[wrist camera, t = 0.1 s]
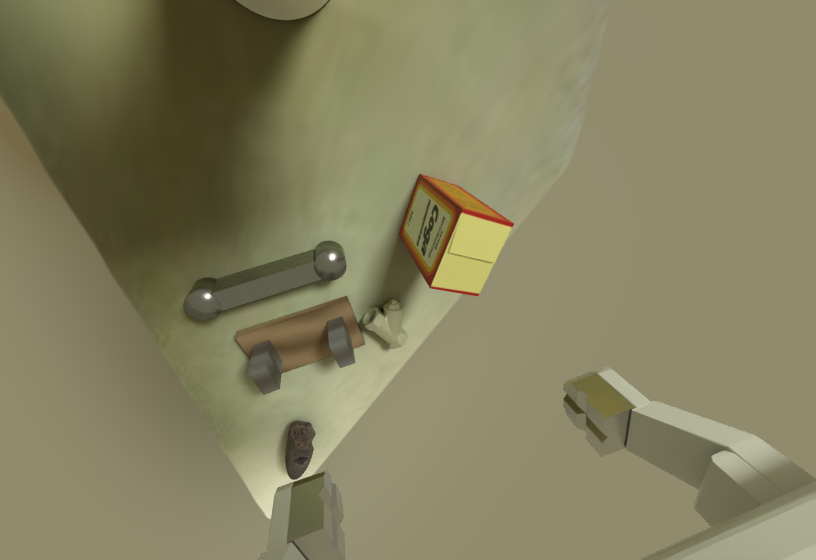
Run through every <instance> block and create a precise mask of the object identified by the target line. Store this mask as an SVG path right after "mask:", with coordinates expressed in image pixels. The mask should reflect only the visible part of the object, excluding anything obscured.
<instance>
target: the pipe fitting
mask: <svg viewBox="0 0 816 560" xmlns="http://www.w3.org/2000/svg"><path fill="white" fill-rule="evenodd" d="M402 314H403V305H402V304H400V303H399V302H398V301H397V300H396V299H392V300H391V301H389V302H387V303H385V304H384V311H383V313H382V311H381V310H380V309H378V308H377V307H375V308H372V309H370V310H369V311H367V313H366V314H365V315H364V317H363V320H362V322H363V325H364V327H365V328H367V329H368V330H369V331H371V330H372V331H373V332H375V333H376V334H377V335H379V336H380V337H381V338H383V339H384V340H385V341H387V343H388V344H389V346H391V347H392V348H393V349H396V348H399V347H401V346H403V345H404V343H405V342H406V339H407V337H408V336H407V334H406V332H405V330H404V329H402V328H401V324H402Z"/></svg>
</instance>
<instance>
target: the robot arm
mask: <svg viewBox="0 0 816 560" xmlns="http://www.w3.org/2000/svg"><path fill="white" fill-rule="evenodd" d="M236 1H237V2H239V3H240V4H241V5H243V6H244V7H246V8H248V9H249V10H251V11H253V12H255V13H257V14H260V15H262V16H265V17H268V18H272V19H277V20H295V19H300V18H304V17H306V16H309V15H311V14H313V13H314V12H316V11H317V10H319V9H320V8H321V7H322V6H323V5H325V4H326V2H327V1H328V0H236ZM563 390H564V391H565V392H566V393H567V394H566V396H565V397H564V399H563V401H564V408H565V411H566V413H567V415H568V417H569V419H570V420H571V421H572V423H573V424H574V425H575V426H576V427H578V428H580V429H582V430H584V431H585V436H586V439H587V441H588V442H589V443H590V444H591V445H592V446H593V448H594V449H595V450H596V451H597V452H598V454H599V455H600V456H601V457H602V456H604V455H607V454H610V453H613V452H615V451H618V450H621V449H623V448H626V450H628V451H630V452H631V453H633V454H635V455H637V456H639V457H640V458H643V459H644V460H646V461H648V462H650V463H651V464H653V465H655V466H657V467H659V468H661V469H662V470H664V471H666V472H668V473H669V474H671V475H673V476H675V477H677V478H679V479H680V480H682V481H684V482H686V483H688V484H689V485H691V486H693V487H695V488H697V489H699V492H698V494H697V497H696V500H695V503H694V505H695V506H694V507H695V510H696V511H697V512H698V513H699V514H700V515H701V516H702V517H703V518H704V520H705V521H706V522H707V523H708V524H709V525H710V526H711V527H710V528H708V529H706V530H703V531H701V532H699V533H697V534H694V535H692V536H690V537H688V538H686V539H683V540H681V541H679V542H676V543H674V544H672V545H670V546H667V547H665V548H663V549H661V550H659V551H656V552H654V553H652V554H650V555H647V556H645V557H643V558H640V559H638V560H816V479H815V478H814V477H813V476H811V475H810V474H808V473H807V472H806V471H804V470H803V469H802V468H800V467H799V466H797V465H796V464H795V463H793V462H792V461H791V460H789V459H788V458H786V457H785V456H783V455H782V454H781V453H779V452H778V451H777V450H775V449H774V448H772V447H771V446H770V445H768V444H767V443H765V442H764V441H763V440H761V439H760V438H758V437H757V436H755V435H752V434H749V433H747V432H744V431H741V430H738V429H735V428H732V427H729V426H726V425H724V424H721V423H718V422H715V421H712V420H709V419H706V418H704V417H701V416H698V415H695V414H692V413H689V412H686V411H684V410H681V409H678V408H675V407H672V406H669V405H666V404H663V403H661V402H658V401H652V402H650V401H649V400H648V399H647V398H645V397H644V396H643V395H642V394H641V393H639V392H638V391H637V390H636V389H635V388H633V387H632V386H631V385H630V384H629V383H627V382H626V381H625V380H624V379H623V378H621V377H620V376H619V375H618V374H617V373H615V372H614V371H613V370H612V369H611V368H608V367H603V368H601V369H598V370H596V371H593V372H589V373H586V374H584V375H581V376H579V377H576V378H574V379H571V380H569V381H566V382H565V383H564V388H563ZM342 519H343V505H342V499H341V495H340V492H339V489H338V487H337V486H336V484H333V483H331V475H330V474H329V472H328V471H324V472H321V473H318V474H315V475H312V476H310V477H307V478H304V479H301V480H298V481H295V482H292V483H289V484H287V485H284V486H281V487H278V488H277V491H276V493H275V496H274V503H273V510H272V517H271V525H270V532H269V539H268V546H267V551H266V552H264V553H262V554H261V555H260V557H259V559H258V560H345V540H344V532H343V531H342V529H341V527H340V526H339V525H340V523H341V521H342Z"/></svg>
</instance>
